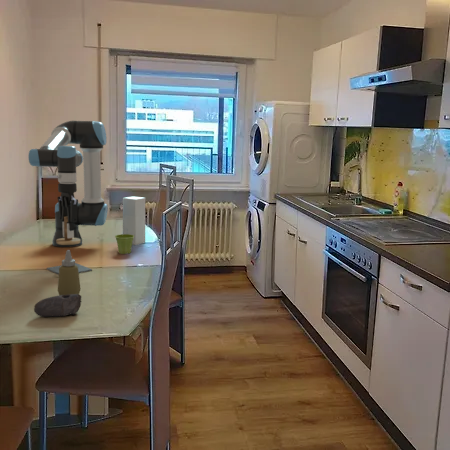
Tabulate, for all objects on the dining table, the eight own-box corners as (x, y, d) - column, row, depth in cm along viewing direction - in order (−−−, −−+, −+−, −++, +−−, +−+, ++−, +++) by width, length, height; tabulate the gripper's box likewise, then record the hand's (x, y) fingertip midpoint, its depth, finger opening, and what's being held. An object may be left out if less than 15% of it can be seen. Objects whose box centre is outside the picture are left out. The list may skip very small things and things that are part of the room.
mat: (46, 269, 223) (46, 267, 222) (75, 264, 232) (75, 262, 232) (62, 276, 213) (62, 274, 213) (91, 270, 223) (91, 269, 223)
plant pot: (130, 255, 252) (130, 238, 250) (112, 254, 253) (112, 237, 252) (137, 251, 261) (137, 234, 259) (119, 250, 262) (119, 233, 261)
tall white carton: (122, 243, 278) (122, 197, 274) (132, 240, 286) (132, 196, 281) (135, 245, 274) (135, 199, 270) (145, 242, 282) (145, 197, 277)
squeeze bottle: (60, 295, 189) (59, 247, 186) (82, 295, 190) (82, 248, 186) (55, 302, 181) (53, 253, 178) (78, 302, 182) (77, 253, 178)
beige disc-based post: (52, 242, 220) (51, 216, 218) (73, 239, 227) (72, 214, 225) (63, 246, 213) (62, 219, 211) (84, 243, 220) (84, 217, 218)
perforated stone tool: (33, 320, 164) (33, 299, 163) (34, 314, 169) (33, 294, 168) (82, 316, 168) (81, 296, 167) (81, 311, 173) (81, 291, 172)
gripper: (49, 181, 219) (51, 235, 223) (68, 184, 208) (69, 241, 212) (66, 180, 224) (67, 233, 228) (85, 184, 213) (85, 239, 217)
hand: (68, 237), depth 220 cm, fingers closed on beige disc-based post, 3 cm apart
